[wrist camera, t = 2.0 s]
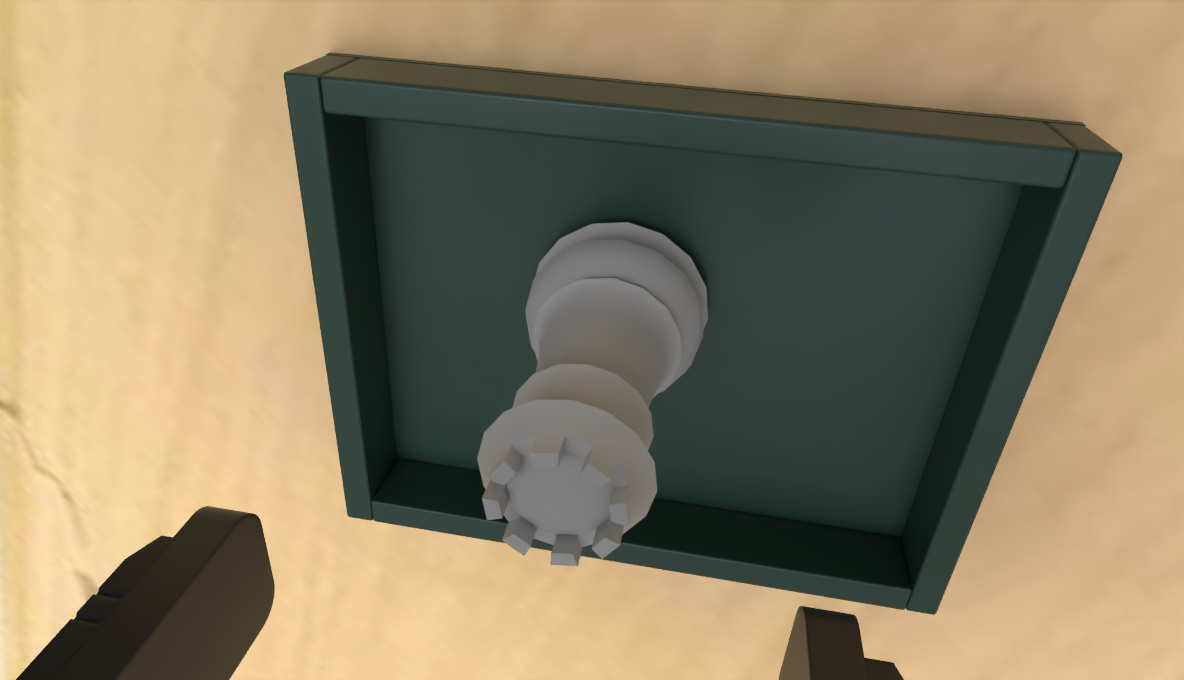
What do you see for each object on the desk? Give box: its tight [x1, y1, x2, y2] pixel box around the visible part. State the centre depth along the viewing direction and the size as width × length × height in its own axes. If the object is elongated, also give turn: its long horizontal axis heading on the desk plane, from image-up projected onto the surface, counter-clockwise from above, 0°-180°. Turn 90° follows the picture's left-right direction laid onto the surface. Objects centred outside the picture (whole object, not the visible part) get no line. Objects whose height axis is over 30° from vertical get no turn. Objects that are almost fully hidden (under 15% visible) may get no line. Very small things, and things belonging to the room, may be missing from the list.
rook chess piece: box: [477, 222, 708, 566], centre depth 17 cm, size 4×4×8 cm
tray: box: [284, 53, 1122, 614], centre depth 20 cm, size 17×13×2 cm
